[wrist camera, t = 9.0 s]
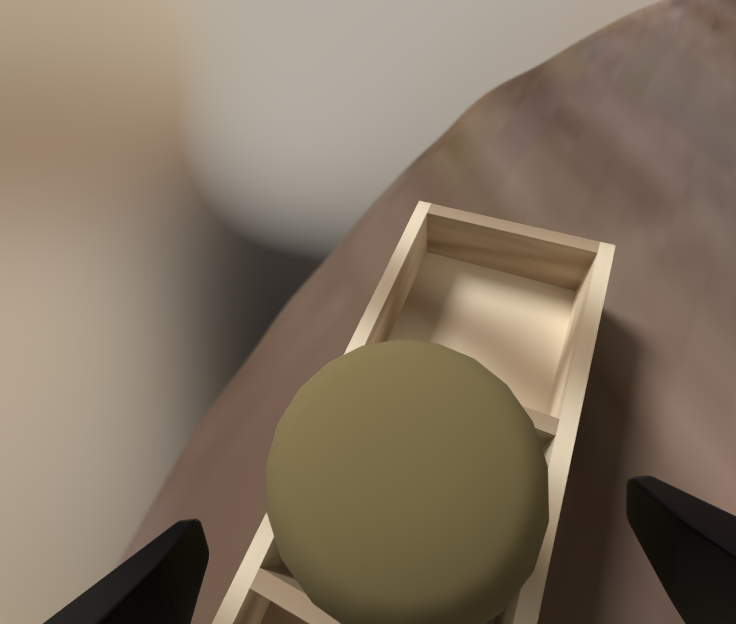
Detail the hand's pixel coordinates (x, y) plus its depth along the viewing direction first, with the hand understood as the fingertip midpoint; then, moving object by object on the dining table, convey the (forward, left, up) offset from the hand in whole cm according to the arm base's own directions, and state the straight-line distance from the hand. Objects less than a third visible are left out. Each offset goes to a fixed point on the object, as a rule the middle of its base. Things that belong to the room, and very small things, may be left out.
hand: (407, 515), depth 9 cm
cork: (0, 0, -8) cm, 8 cm away
